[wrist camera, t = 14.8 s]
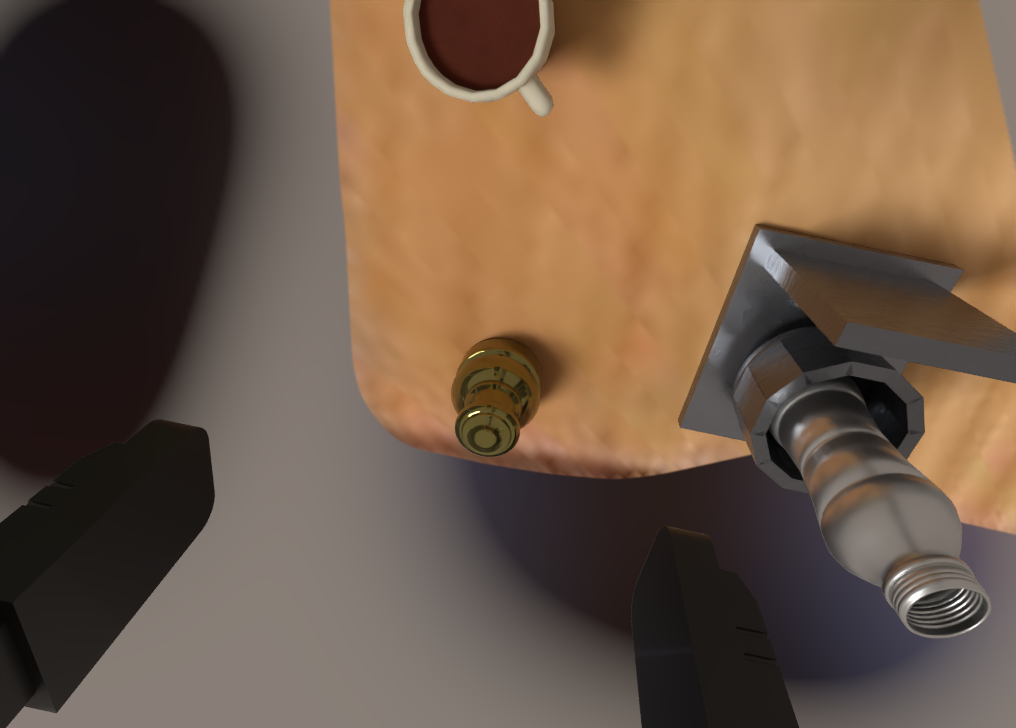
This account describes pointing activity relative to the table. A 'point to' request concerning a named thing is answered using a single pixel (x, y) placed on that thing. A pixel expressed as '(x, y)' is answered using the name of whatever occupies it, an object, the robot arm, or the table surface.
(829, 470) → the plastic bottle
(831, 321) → the cup bracket
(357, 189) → the table surface
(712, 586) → the robot arm
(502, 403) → the brass knob
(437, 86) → the character mug
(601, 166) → the table surface
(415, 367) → the table surface
